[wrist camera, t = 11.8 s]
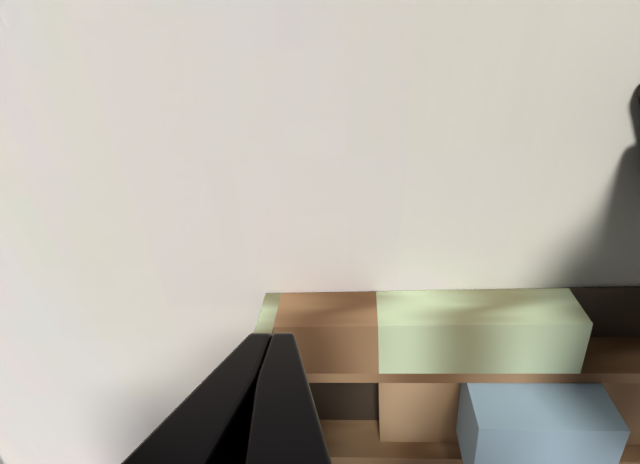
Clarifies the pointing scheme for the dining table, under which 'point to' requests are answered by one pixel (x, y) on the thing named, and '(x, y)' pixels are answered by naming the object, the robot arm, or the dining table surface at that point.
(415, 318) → the tray
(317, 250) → the dining table surface
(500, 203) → the dining table surface
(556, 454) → the block
